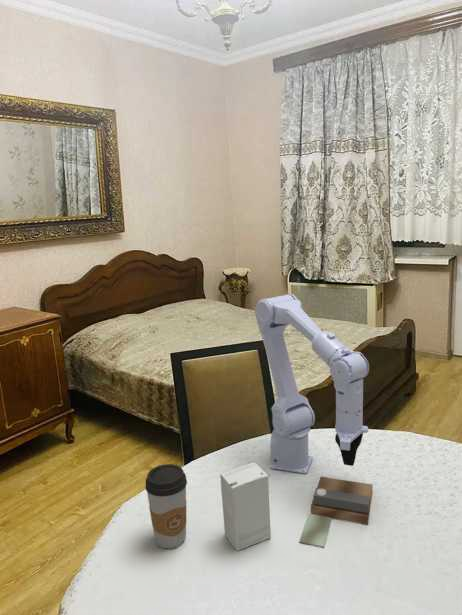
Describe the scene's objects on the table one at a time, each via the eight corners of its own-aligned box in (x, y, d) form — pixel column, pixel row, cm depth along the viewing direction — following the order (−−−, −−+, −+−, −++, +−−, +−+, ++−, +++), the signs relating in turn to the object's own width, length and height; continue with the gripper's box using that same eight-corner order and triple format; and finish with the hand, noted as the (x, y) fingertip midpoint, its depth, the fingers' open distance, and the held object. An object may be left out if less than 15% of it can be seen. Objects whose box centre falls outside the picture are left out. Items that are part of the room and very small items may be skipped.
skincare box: (257, 522, 105) (255, 460, 102) (272, 539, 100) (270, 474, 97) (222, 535, 102) (218, 471, 98) (235, 553, 96) (232, 486, 93)
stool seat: (299, 542, 99) (299, 534, 98) (318, 483, 118) (318, 476, 118) (363, 555, 94) (363, 546, 94) (372, 492, 114) (372, 484, 113)
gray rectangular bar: (313, 503, 107) (313, 493, 106) (316, 495, 110) (315, 486, 109) (368, 513, 103) (368, 503, 102) (369, 504, 106) (369, 494, 105)
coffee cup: (158, 559, 96) (152, 490, 93) (145, 534, 103) (138, 470, 100) (197, 543, 100) (192, 477, 96) (182, 521, 107) (177, 458, 104)
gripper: (365, 424, 99) (364, 484, 103) (370, 396, 113) (370, 450, 116) (329, 420, 102) (330, 479, 105) (339, 393, 115) (339, 446, 118)
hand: (348, 463), depth 111 cm, fingers closed
